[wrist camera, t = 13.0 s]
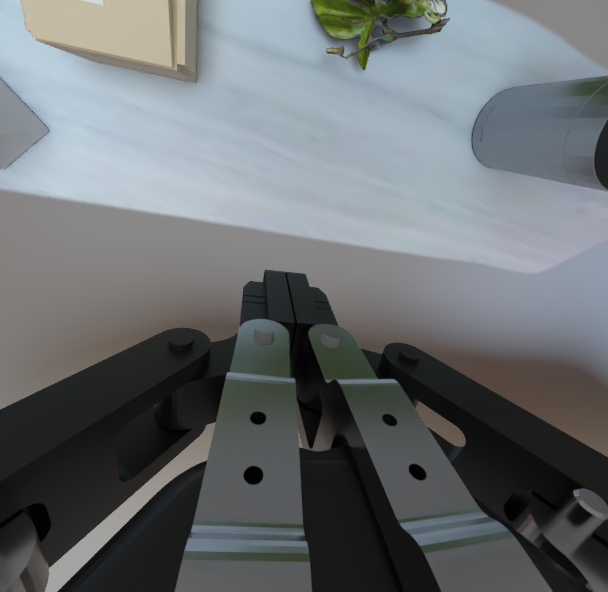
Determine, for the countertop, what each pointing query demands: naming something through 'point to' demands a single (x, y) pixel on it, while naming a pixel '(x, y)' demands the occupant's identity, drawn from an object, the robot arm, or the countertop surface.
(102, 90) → the countertop surface
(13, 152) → the milk carton
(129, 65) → the carton
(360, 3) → the passion flower
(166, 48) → the flap
